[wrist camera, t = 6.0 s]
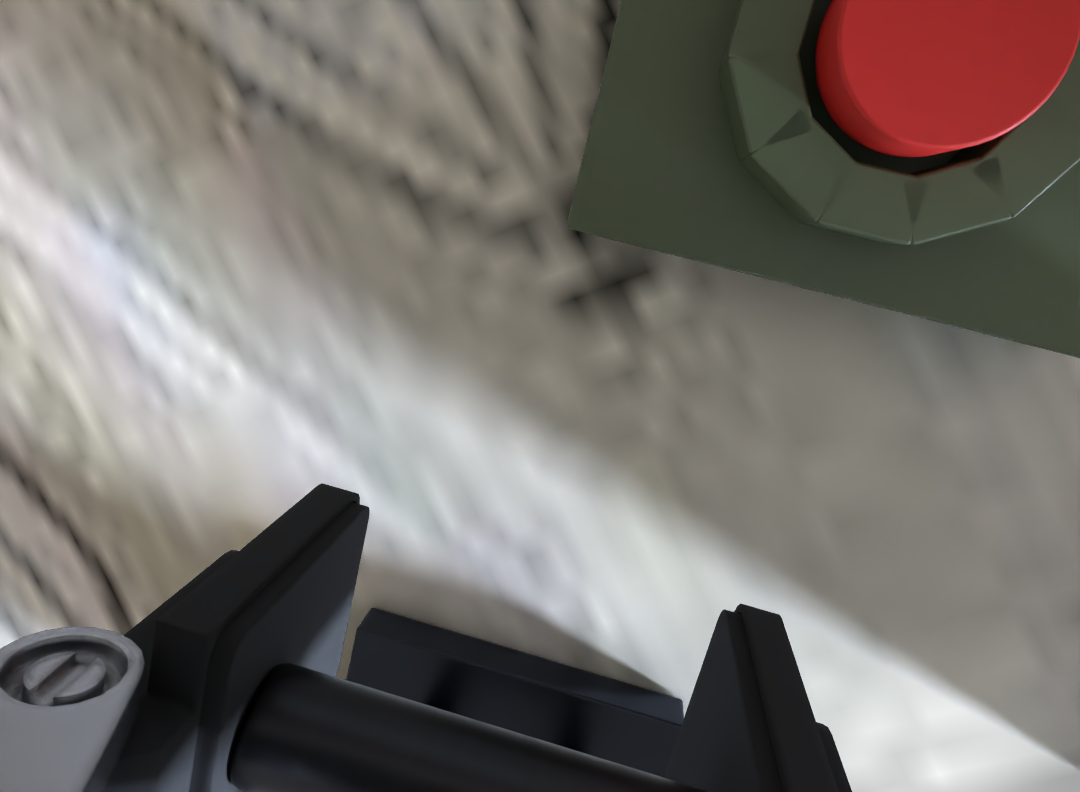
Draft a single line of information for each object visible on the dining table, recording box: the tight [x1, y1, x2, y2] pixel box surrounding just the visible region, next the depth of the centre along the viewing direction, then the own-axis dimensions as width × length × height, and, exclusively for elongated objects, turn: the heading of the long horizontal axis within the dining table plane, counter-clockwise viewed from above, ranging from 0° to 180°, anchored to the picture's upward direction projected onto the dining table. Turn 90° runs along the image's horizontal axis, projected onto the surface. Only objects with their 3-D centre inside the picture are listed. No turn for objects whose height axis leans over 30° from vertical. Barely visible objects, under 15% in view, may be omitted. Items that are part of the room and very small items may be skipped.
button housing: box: [567, 0, 1080, 358], centre depth 15 cm, size 11×9×4 cm
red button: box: [815, 0, 1080, 158], centre depth 13 cm, size 4×4×2 cm
